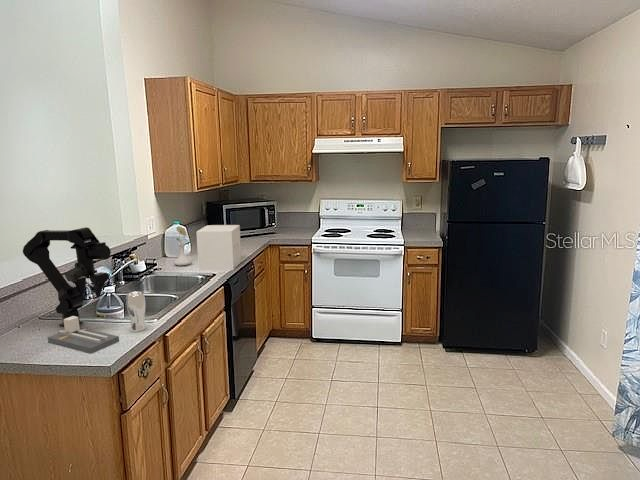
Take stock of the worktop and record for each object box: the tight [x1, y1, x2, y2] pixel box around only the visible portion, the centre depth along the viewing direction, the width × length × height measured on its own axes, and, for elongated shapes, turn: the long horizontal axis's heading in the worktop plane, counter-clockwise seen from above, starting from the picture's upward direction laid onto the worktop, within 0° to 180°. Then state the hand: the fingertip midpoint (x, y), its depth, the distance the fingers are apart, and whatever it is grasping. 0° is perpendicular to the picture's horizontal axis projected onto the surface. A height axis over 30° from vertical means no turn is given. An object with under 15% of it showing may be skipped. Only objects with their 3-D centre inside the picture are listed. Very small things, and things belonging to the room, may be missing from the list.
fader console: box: [47, 326, 120, 354], centre depth 173 cm, size 24×12×3 cm, turn 64°
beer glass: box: [126, 291, 147, 333], centre depth 184 cm, size 7×7×15 cm
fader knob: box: [62, 316, 80, 333], centre depth 175 cm, size 3×4×6 cm
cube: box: [195, 224, 242, 271], centre depth 289 cm, size 25×21×24 cm
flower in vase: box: [173, 225, 193, 266], centre depth 292 cm, size 13×11×25 cm
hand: (90, 296), depth 186 cm, fingers open, 9 cm apart
